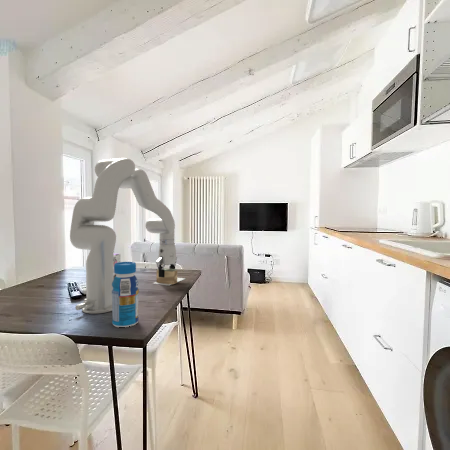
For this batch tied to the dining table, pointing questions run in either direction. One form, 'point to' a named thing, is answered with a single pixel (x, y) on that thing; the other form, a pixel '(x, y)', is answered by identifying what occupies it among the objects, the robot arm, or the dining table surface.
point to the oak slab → (168, 276)
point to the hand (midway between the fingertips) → (167, 275)
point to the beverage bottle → (125, 295)
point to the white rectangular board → (170, 284)
